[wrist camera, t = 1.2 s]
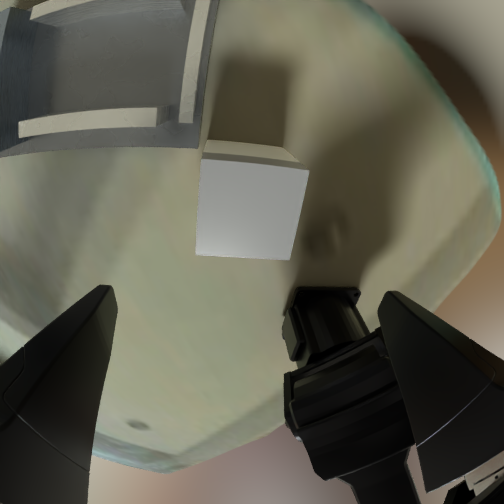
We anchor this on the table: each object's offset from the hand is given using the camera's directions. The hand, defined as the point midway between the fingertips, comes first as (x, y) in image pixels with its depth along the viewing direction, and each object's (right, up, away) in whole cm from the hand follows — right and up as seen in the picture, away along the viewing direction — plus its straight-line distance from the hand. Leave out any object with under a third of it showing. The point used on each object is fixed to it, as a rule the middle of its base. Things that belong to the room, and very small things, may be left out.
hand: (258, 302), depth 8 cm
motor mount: (-12, +14, +4) cm, 19 cm away
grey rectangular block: (-1, +6, +10) cm, 12 cm away
